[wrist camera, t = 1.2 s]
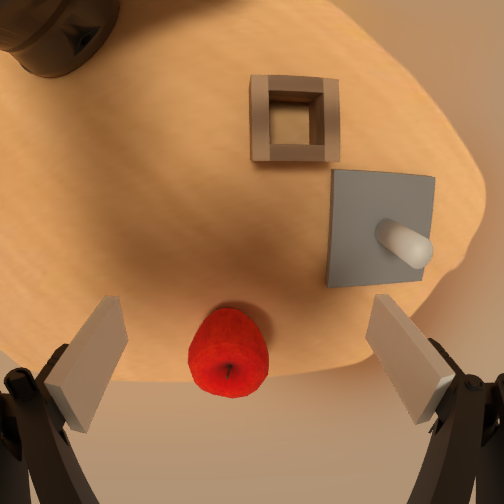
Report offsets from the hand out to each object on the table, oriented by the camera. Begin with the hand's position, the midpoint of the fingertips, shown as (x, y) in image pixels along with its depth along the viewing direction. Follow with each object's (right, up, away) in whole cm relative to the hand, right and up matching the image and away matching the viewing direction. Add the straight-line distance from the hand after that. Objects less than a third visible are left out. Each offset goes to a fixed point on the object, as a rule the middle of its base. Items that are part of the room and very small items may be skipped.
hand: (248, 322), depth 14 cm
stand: (+16, +6, +20) cm, 26 cm away
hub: (+4, +17, +15) cm, 23 cm away
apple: (-3, -6, +23) cm, 24 cm away
